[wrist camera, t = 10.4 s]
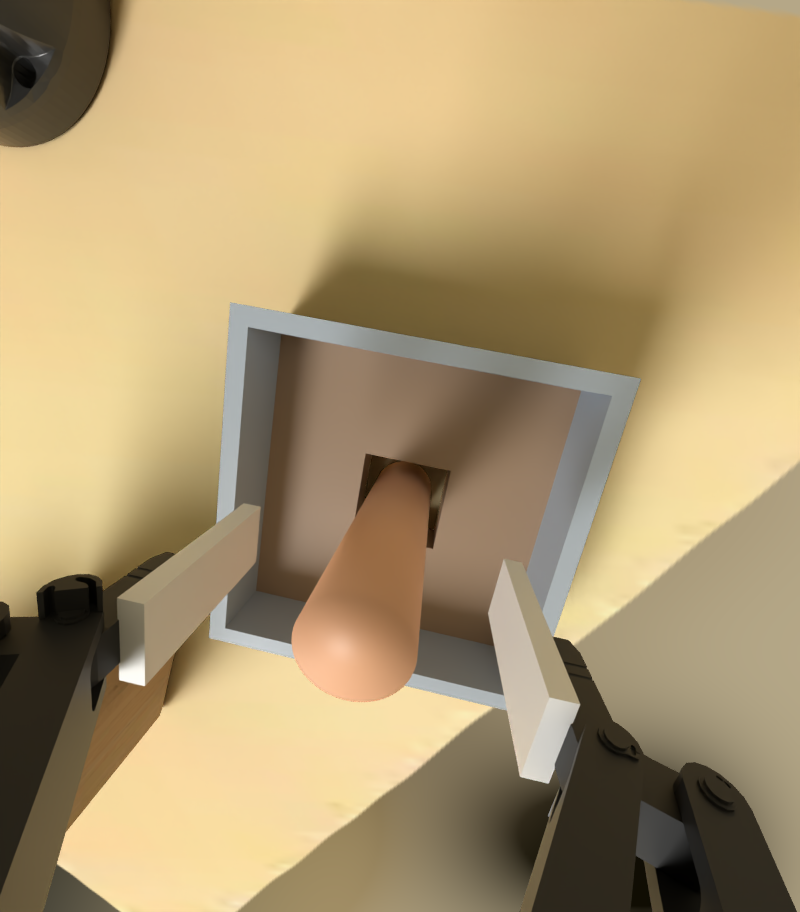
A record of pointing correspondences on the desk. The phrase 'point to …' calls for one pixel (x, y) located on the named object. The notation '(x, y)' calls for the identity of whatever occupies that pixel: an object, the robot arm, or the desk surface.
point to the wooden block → (119, 730)
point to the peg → (370, 594)
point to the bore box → (416, 441)
